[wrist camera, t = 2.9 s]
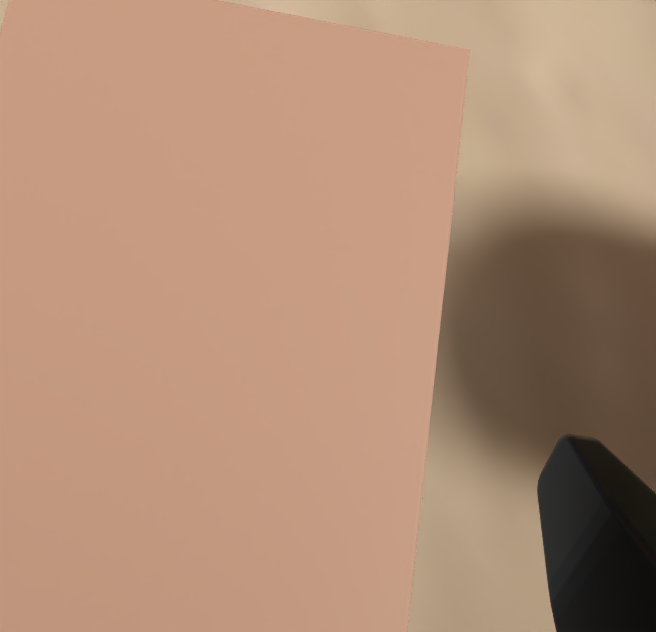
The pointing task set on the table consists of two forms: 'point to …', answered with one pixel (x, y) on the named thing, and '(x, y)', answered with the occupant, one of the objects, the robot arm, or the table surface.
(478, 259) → the table surface
